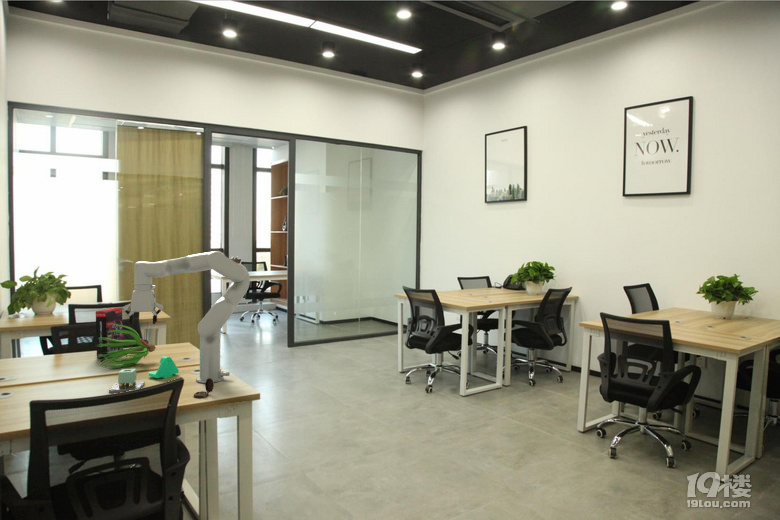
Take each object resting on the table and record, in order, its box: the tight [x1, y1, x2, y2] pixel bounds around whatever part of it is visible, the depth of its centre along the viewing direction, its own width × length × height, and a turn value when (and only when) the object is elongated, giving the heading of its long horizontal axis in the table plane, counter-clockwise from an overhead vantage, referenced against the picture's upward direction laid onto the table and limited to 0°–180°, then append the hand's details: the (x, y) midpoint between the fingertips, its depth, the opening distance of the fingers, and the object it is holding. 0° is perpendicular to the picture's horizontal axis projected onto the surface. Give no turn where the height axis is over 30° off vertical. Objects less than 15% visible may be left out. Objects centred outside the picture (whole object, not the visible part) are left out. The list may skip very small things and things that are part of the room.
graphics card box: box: [95, 307, 124, 360], centre depth 294 cm, size 17×7×27 cm, turn 179°
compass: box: [193, 378, 215, 399], centre depth 222 cm, size 8×8×7 cm
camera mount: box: [148, 355, 180, 379], centre depth 253 cm, size 12×8×10 cm, turn 149°
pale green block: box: [117, 368, 137, 384], centre depth 231 cm, size 6×6×5 cm
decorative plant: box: [96, 323, 157, 370], centre depth 272 cm, size 26×25×30 cm
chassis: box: [108, 379, 146, 394], centre depth 231 cm, size 12×12×7 cm
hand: (143, 323), depth 239 cm, fingers open, 9 cm apart
